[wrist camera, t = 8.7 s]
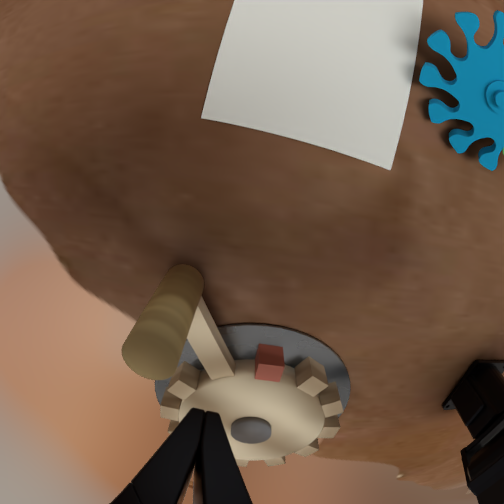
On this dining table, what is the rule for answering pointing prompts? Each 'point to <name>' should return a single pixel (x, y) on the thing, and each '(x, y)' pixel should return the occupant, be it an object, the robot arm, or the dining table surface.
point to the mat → (319, 72)
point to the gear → (471, 87)
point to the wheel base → (293, 342)
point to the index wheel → (230, 377)
